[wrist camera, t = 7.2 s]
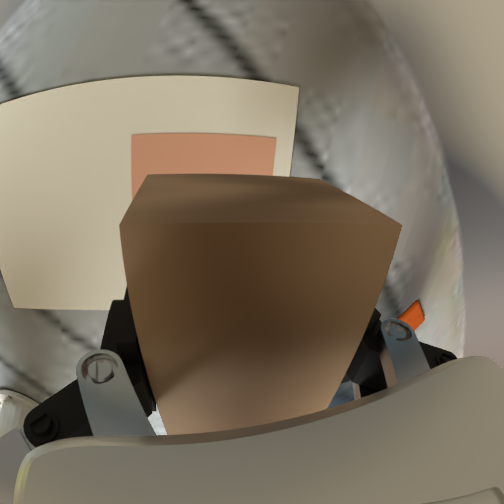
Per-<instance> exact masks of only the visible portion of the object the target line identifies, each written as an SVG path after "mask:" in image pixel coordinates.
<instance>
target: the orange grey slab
mask: <svg viewBox="0 0 504 504" xmlns="http://www.w3.org/2000/svg"><path fill="white" fill-rule="evenodd" d="M398 319H399V320H401V321H404V322H405V323H407V324H408V325H409V326H410V327H411V328H412V329H413V330H415V329H416V328H417V327H418V326H419V325H420V324H422V323H423V321H424V319H425V318H424V315H423V312H422V309H421V306H420V303H419V301H415V302H414V303H413V304H412V305H411V306H410V307H409V308H408V309H407V310H406V311H405V312H404V313H403V314H402V315H401V316H400V317H399V318H398Z"/></svg>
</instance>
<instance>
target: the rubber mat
mask: <svg viewBox="0 0 504 504" xmlns="http://www.w3.org/2000/svg"><path fill="white" fill-rule="evenodd" d="M298 95H299V87H295V86H289V85H283V84H277V83H271V82H264V81H256V80H248V79H238V78H226V77H211V76H145V77H130V78H119V79H109V80H101V81H94V82H87V83H81V84H76V85H70V86H65V87H60V88H56V89H51V90H47V91H43V92H39V93H35V94H32V95H28V96H24V97H21V98H18V99H15V100H11V101H8V102H5V103H3V104H0V270H1V273H2V276H3V279H4V282H5V285H6V287H7V290H8V293H9V296H10V298H11V301H12V303H13V306H14V308H26V309H53V310H110V306H111V303H112V301H113V300H124V295H125V291H126V287H127V282H126V276H125V269H124V263H123V255H122V247H121V239H120V230H119V225H120V223H121V221H122V219H123V217H124V215H125V213H126V211H127V209H128V207H129V206H130V204H131V202H132V200H133V198H134V197H135V195H136V193H137V191H138V190H139V188H140V186H141V184H142V183H143V181H144V179H145V178H146V176H147V174H247V175H269V176H286V177H289V176H290V167H291V159H292V151H293V142H294V133H295V124H296V115H297V105H298Z"/></svg>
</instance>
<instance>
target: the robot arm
mask: <svg viewBox="0 0 504 504" xmlns="http://www.w3.org/2000/svg"><path fill="white" fill-rule="evenodd" d="M380 316H381V314H380V313H379V312H378V310H377V309H376V308H375V309H374V311H373V314H372V316H371V318H370V321H369V323H368V326H367V328H366V330H365V333H364V335H363V337H362V340H361V342H360V344H359V346H358V348H357V351H356V353H355V355H354V357H353V359H352V361H351V363H350V365H349V367H348V369H347V372H346V374H345V375H344V377H343V379H342V381H341V383H344V382H348V381H350V379H351V381H352V382H353V391H354V398H355V400H354V401H351V402H348V403H345V404H342V405H339V406H336V407H332V408H329V409H325V410H322V411H318V412H315V413H311V414H307V415H303V416H299V417H295V418H291V419H286V420H282V421H277V422H272V423H267V424H262V425H256V426H251V427H244V428H238V429H231V430H223V431H215V432H205V433H193V434H178V435H156V433H155V432H154V430H153V428H152V426H151V424H150V422H149V420H148V418H147V417H148V416H150V415H151V414H152V411H156V401H155V398H154V395H153V392H152V388H151V385H150V382H149V378H148V375H147V371H146V368H145V364H144V361H143V357H142V353H141V349H140V345H139V341H138V337H137V333H136V328H135V324H134V319H133V314H132V309H131V304H130V299H129V294H128V288H127V287H126V291H125V295H124V300H113V301H112V303H111V306H110V310H109V314H108V318H107V322H106V326H105V330H104V335H103V339H102V344H101V349H100V350H94V351H91V352H89V353H87V354H86V355H84V356H83V357H82V358H81V359H80V360H79V362H78V364H77V367H76V375H77V379H76V380H75V381H73V382H72V383H70V384H69V385H67V386H66V387H64V388H63V389H61V390H60V391H59V392H57V393H56V394H54V395H53V396H51V397H50V398H48V399H47V400H45V401H44V402H42V403H41V404H39V403H37V402H35V401H34V400H32V399H30V398H28V397H26V396H24V395H22V394H20V393H17V392H14V391H10V390H0V408H1V411H0V504H504V370H503V369H502V368H501V367H500V366H499V365H498V364H497V363H496V362H495V361H493V360H492V359H490V358H487V357H482V356H469V357H464V358H459V359H457V358H456V356H455V355H454V354H453V353H452V352H449V351H446V350H443V349H440V348H437V347H434V346H431V345H428V344H425V343H422V342H419V341H418V339H417V337H416V334H415V332H414V330H413V329H412V328H411V327H410V326H409V325H408V324H407V323H405V322H404V321H401V320H399V319H386V320H384V321H383V322H381V321H380V320H379V319H380ZM341 383H340V384H341Z"/></svg>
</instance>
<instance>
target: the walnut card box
mask: <svg viewBox="0 0 504 504" xmlns="http://www.w3.org/2000/svg"><path fill="white" fill-rule="evenodd" d="M401 227H402V225H401V224H400V223H398V222H396V221H395V220H393V219H391V218H390V217H388V216H386V215H385V214H383V213H381V212H380V211H378V210H376V209H374V208H373V207H371V206H369V205H367V204H365V203H364V202H362V201H360V200H358V199H356V198H355V197H353V196H351V195H349V194H347V193H345V192H343V191H341V190H340V189H338V188H336V187H334V186H332V185H330V184H328V183H326V182H324V181H322V180H320V179H312V178H300V177H286V176H269V175H247V174H147V176H146V178H145V179H144V181H143V183H142V184H141V186H140V188H139V190H138V191H137V193H136V195H135V197H134V198H133V200H132V202H131V204H130V206H129V207H128V209H127V211H126V213H125V215H124V217H123V219H122V221H121V223H120V225H119V230H120V239H121V247H122V255H123V263H124V269H125V276H126V282H127V288H128V294H129V299H130V304H131V309H132V314H133V319H134V324H135V328H136V333H137V337H138V341H139V345H140V349H141V353H142V357H143V361H144V364H145V368H146V371H147V375H148V378H149V382H150V385H151V388H152V392H153V395H154V398H155V401H156V404H157V407H158V410H159V413H160V416H161V418H162V421H163V424H164V427H165V429H166V432H167V435H178V434H193V433H205V432H215V431H223V430H231V429H238V428H244V427H251V426H256V425H262V424H267V423H272V422H277V421H282V420H286V419H291V418H295V417H299V416H303V415H307V414H311V413H315V412H318V411H322V410H325V409H327V407H328V405H329V404H330V402H331V400H332V398H333V396H334V395H335V393H336V391H337V389H338V387H339V385H340V383H341V381H342V379H343V377H344V375H345V374H346V372H347V369H348V367H349V365H350V363H351V361H352V359H353V357H354V355H355V353H356V351H357V348H358V346H359V344H360V342H361V340H362V337H363V335H364V333H365V330H366V328H367V326H368V323H369V321H370V318H371V316H372V314H373V311H374V309H375V306H376V303H377V301H378V298H379V295H380V293H381V290H382V287H383V285H384V282H385V279H386V276H387V273H388V270H389V267H390V264H391V261H392V258H393V255H394V251H395V248H396V245H397V242H398V238H399V235H400V231H401Z"/></svg>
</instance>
